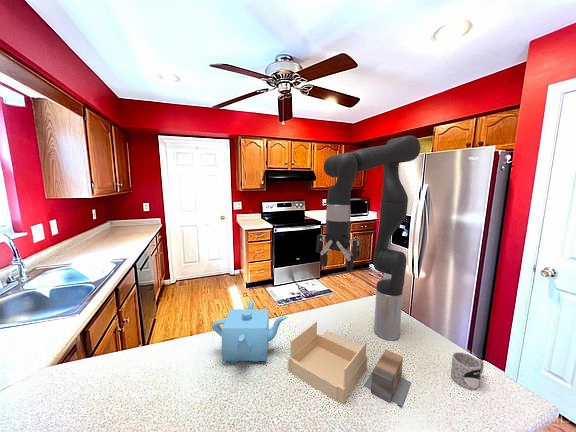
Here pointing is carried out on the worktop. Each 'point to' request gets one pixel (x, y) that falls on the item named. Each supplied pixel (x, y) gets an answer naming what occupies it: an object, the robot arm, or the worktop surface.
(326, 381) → the carton
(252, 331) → the teakettle
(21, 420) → the worktop surface
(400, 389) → the mat
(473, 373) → the mug
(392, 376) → the bar
